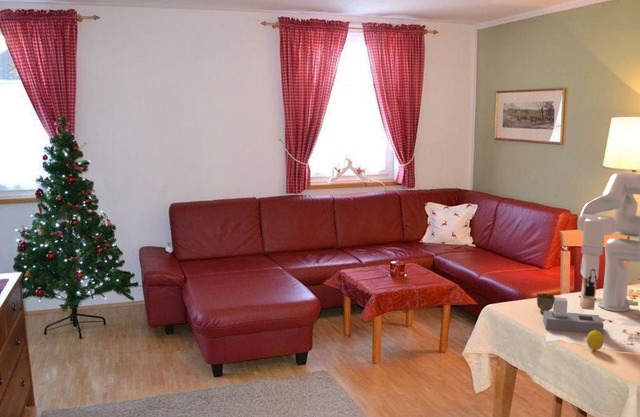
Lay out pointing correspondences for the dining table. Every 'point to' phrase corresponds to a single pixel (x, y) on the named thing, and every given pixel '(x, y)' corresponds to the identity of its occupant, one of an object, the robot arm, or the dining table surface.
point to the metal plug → (560, 307)
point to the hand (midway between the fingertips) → (588, 293)
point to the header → (573, 322)
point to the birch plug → (587, 297)
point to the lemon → (595, 340)
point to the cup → (545, 301)
